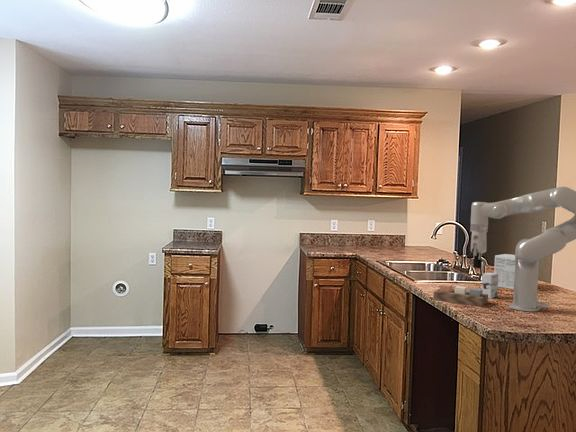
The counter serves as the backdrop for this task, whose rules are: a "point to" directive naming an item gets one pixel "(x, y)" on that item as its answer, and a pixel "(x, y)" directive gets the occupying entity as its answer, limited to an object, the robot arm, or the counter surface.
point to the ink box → (490, 284)
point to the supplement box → (505, 270)
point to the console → (460, 298)
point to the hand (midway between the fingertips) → (477, 267)
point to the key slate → (476, 292)
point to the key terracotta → (446, 288)
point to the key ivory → (460, 290)
